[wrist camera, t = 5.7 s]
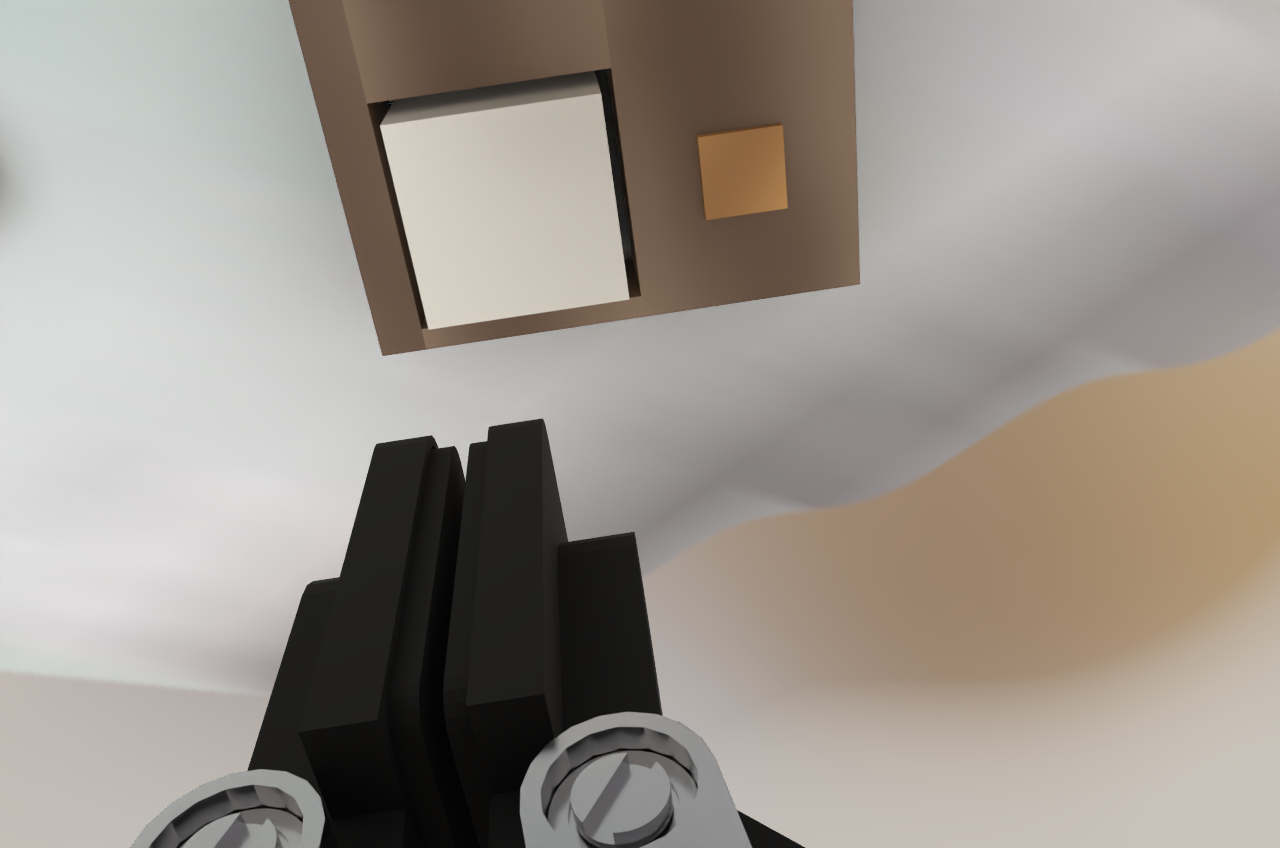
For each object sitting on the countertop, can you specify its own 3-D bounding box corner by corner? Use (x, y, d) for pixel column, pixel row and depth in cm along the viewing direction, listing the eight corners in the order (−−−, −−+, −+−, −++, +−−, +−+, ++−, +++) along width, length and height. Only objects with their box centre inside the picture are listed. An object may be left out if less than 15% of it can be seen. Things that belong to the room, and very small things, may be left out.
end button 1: (593, 67, 24) (601, 93, 21) (619, 254, 26) (629, 299, 23) (397, 95, 24) (379, 125, 21) (439, 281, 26) (428, 329, 23)
